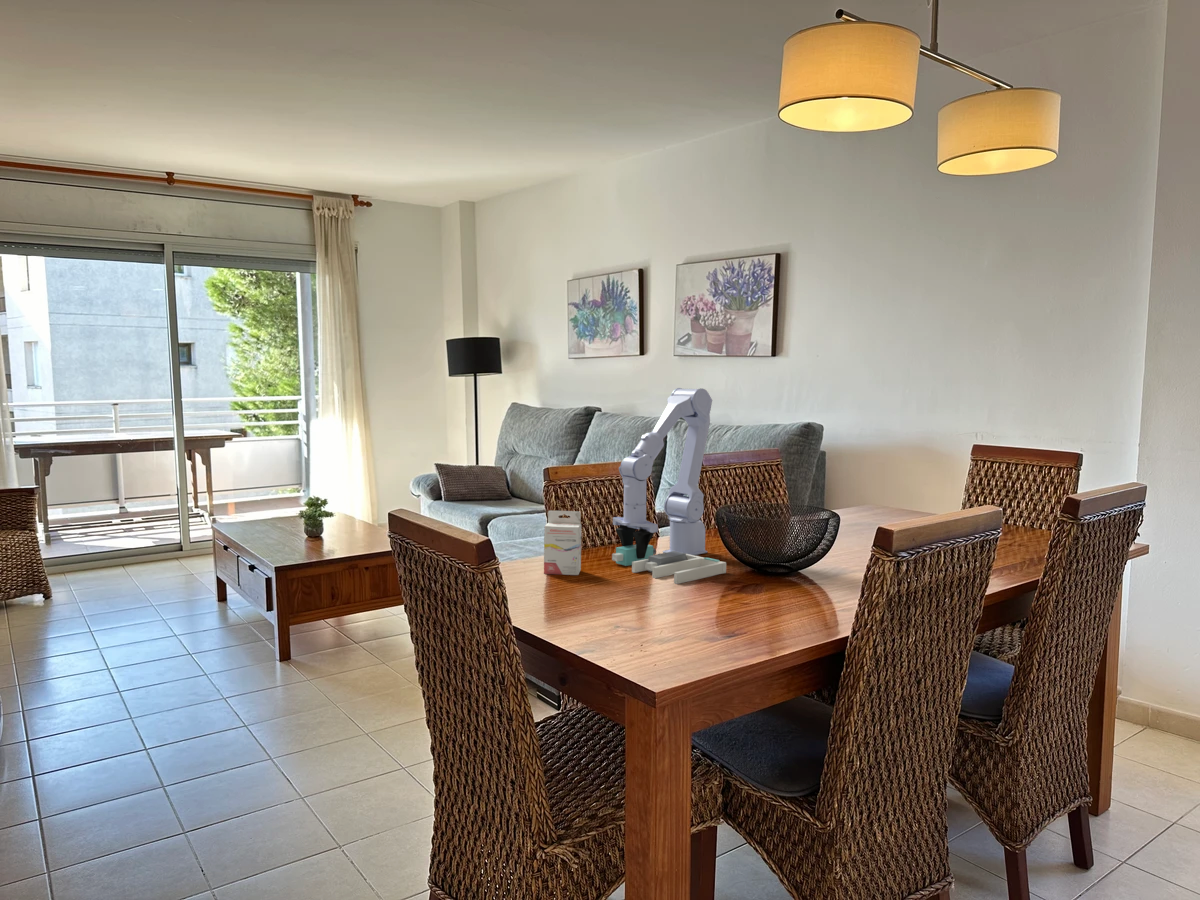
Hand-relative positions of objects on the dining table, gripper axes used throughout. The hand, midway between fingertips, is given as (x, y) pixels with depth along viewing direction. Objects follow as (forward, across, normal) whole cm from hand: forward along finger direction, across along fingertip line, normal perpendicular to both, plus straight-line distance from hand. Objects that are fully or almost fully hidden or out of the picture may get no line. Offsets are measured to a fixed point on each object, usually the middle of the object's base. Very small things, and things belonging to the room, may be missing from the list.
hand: (634, 556), depth 210 cm
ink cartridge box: (+2, -3, -21) cm, 21 cm away
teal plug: (+1, 0, 0) cm, 1 cm away
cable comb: (+1, +15, +1) cm, 15 cm away
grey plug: (+2, +12, 0) cm, 12 cm away
